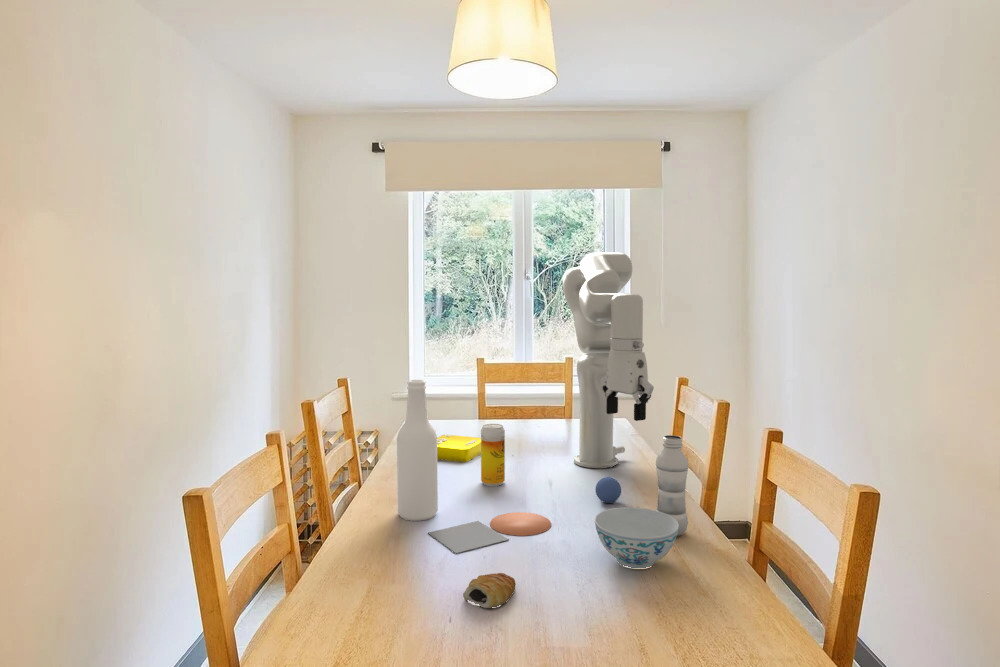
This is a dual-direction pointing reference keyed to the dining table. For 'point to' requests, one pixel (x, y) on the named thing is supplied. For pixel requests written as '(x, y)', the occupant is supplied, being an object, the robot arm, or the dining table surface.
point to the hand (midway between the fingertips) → (625, 416)
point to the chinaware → (636, 535)
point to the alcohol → (417, 459)
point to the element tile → (458, 448)
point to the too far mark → (467, 537)
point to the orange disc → (520, 523)
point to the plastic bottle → (672, 481)
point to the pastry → (490, 590)
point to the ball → (608, 489)
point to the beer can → (492, 454)
